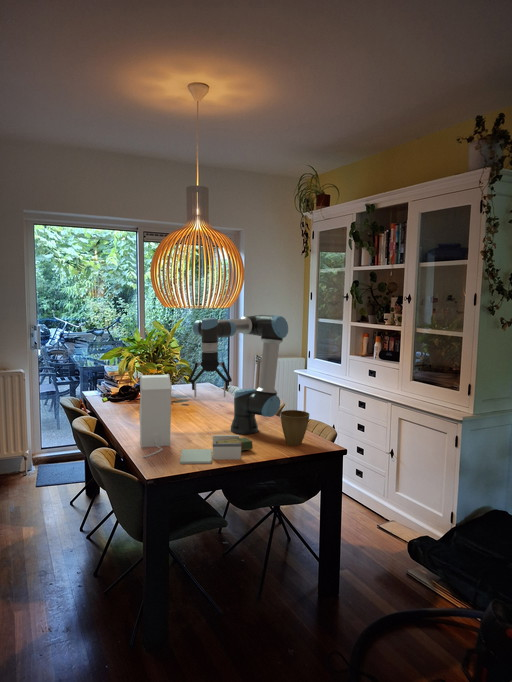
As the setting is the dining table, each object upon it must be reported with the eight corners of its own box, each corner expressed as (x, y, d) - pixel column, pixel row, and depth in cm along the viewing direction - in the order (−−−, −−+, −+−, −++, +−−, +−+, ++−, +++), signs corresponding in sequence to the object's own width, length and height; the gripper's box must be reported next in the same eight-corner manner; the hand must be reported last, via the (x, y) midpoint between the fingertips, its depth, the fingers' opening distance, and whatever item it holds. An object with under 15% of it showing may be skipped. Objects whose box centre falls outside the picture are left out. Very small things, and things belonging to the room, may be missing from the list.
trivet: (182, 451, 239) (182, 449, 239) (211, 451, 240) (211, 449, 240) (179, 463, 221) (179, 461, 221) (211, 463, 223) (211, 461, 222)
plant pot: (273, 443, 255) (274, 412, 254) (292, 438, 265) (293, 408, 264) (295, 450, 244) (296, 418, 243) (314, 444, 255) (315, 413, 254)
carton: (215, 449, 241) (215, 440, 241) (245, 444, 248) (245, 436, 248) (222, 454, 234) (222, 445, 234) (252, 449, 241) (252, 440, 241)
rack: (212, 447, 247) (212, 432, 246) (238, 446, 248) (239, 432, 247) (212, 459, 228) (212, 444, 227) (240, 459, 229) (241, 444, 228)
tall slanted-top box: (166, 436, 264) (166, 370, 261) (174, 456, 231) (174, 382, 228) (138, 437, 260) (138, 371, 257) (142, 459, 227) (142, 383, 224)
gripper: (182, 352, 226) (182, 398, 228) (237, 352, 228) (237, 398, 230) (183, 350, 233) (183, 395, 236) (236, 350, 235) (236, 394, 238)
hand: (210, 396), depth 233 cm, fingers open, 13 cm apart
